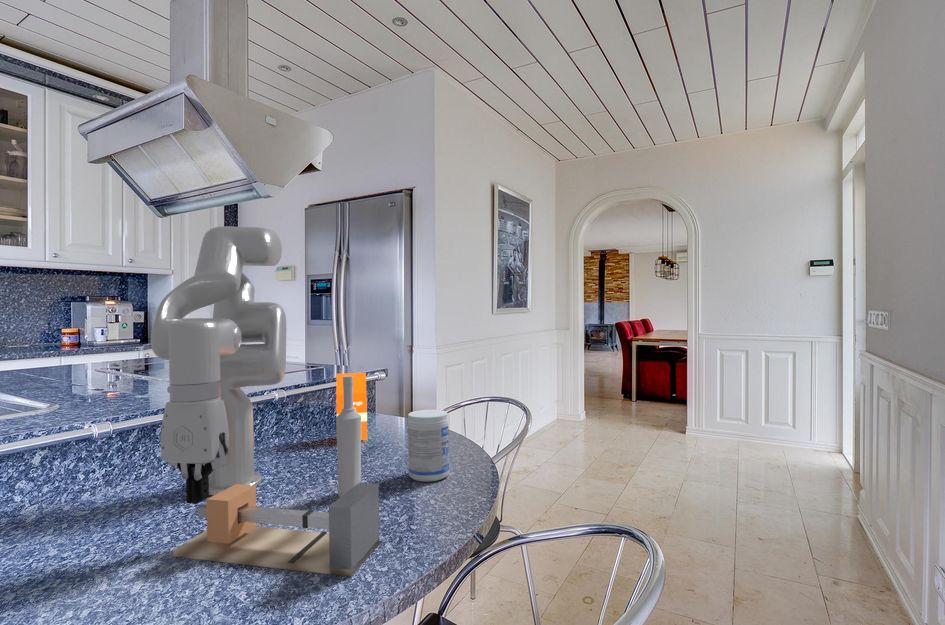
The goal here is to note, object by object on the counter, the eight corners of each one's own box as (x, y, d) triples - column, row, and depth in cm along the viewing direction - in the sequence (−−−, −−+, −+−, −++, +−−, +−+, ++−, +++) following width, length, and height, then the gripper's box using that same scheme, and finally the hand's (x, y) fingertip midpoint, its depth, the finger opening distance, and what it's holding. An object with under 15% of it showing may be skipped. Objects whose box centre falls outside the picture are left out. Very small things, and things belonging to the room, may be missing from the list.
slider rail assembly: (178, 556, 77) (177, 494, 77) (223, 528, 87) (222, 473, 87) (351, 576, 70) (350, 508, 70) (379, 544, 80) (378, 483, 80)
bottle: (356, 500, 99) (353, 378, 99) (332, 498, 100) (330, 378, 100) (366, 490, 104) (364, 374, 104) (344, 489, 105) (342, 374, 105)
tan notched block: (207, 541, 78) (206, 499, 78) (236, 522, 84) (236, 484, 84) (228, 543, 77) (228, 500, 77) (256, 524, 83) (256, 485, 83)
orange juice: (337, 436, 149) (336, 372, 149) (367, 434, 151) (365, 371, 151) (336, 443, 142) (335, 375, 141) (367, 441, 144) (366, 374, 143)
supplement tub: (452, 481, 109) (451, 416, 109) (410, 485, 107) (409, 418, 107) (445, 467, 119) (444, 407, 118) (406, 471, 116) (405, 410, 116)
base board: (173, 556, 77) (173, 548, 77) (219, 528, 87) (218, 521, 87) (351, 576, 70) (351, 568, 70) (379, 544, 80) (379, 536, 80)
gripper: (139, 395, 80) (142, 506, 80) (217, 397, 76) (219, 513, 77) (177, 388, 87) (179, 489, 87) (249, 390, 84) (251, 495, 84)
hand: (197, 500), depth 82 cm, fingers closed
